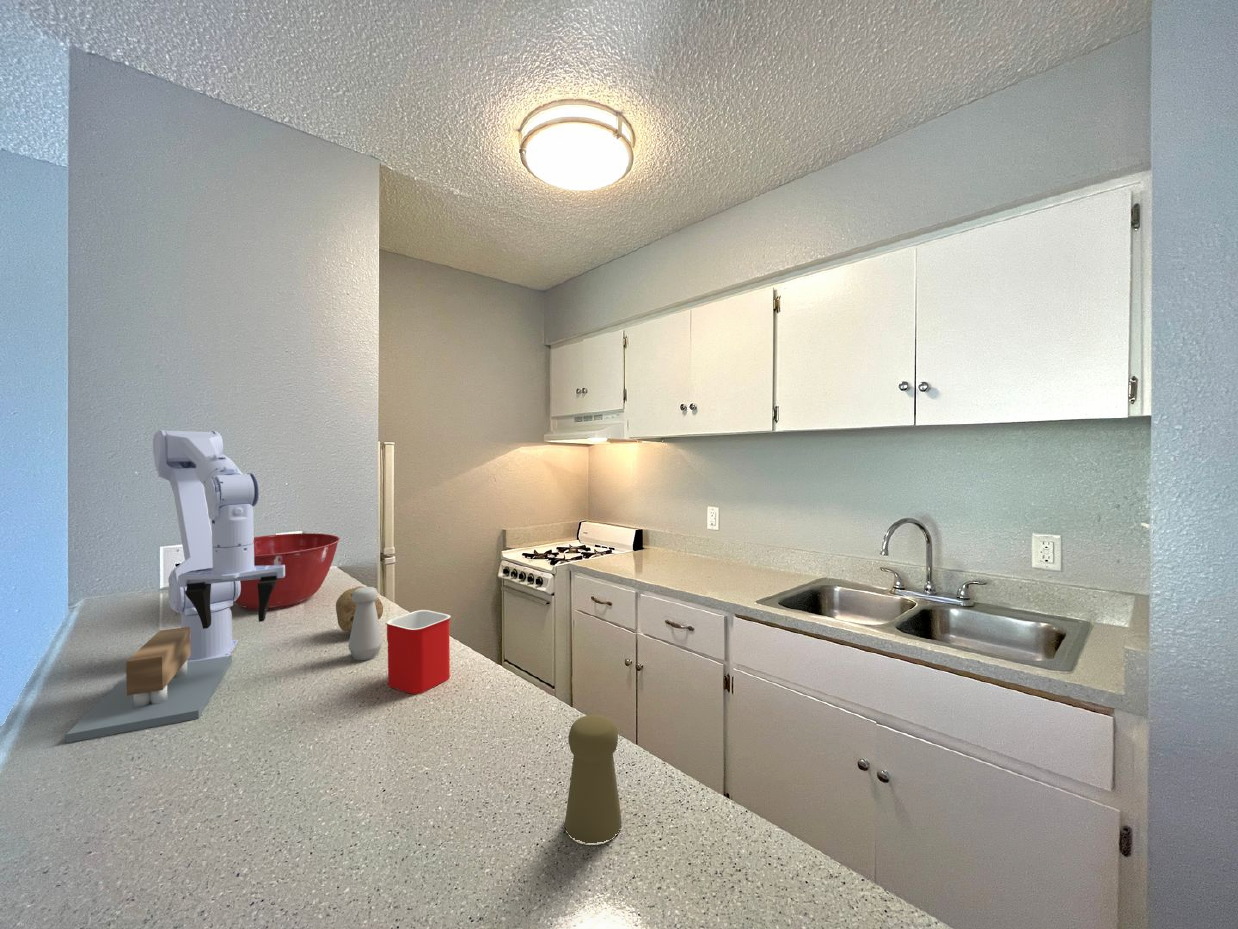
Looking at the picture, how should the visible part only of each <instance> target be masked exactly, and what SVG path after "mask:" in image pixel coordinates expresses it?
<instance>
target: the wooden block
mask: <svg viewBox="0 0 1238 929" xmlns="http://www.w3.org/2000/svg"><path fill="white" fill-rule="evenodd" d="M190 656H191V647H190V627H185V628H181V627H180V628H171V629H170V628H169V629H163V630H161V629H160V630H159V631H158V632H157V633H156V634H154V635H153V636H152V637H151V638H150V639H149V640H148V641H147V642H145V644H144V645H142V647H140V648H139V649H138V650H137V651H136V652H135V653H134V654H132V655H131V656H130V657H129V658H128V659H127V660H126V661H125V674H126V675H125V677H126V682H127V696H128V695H135V694H141V693H147V692H153V691H159V690H163V689H164V688H165V687H166V685H167V684H168V683H169V682H170V680H171V679H172V678H173V677H174V675H175V674H176V673H177V672H178V671H179V669H180V668H181V667H182V666H183V664H184V663H185V662H186V661H187V660H188V658H189V657H190Z"/></svg>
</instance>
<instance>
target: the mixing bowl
mask: <svg viewBox="0 0 1238 929" xmlns="http://www.w3.org/2000/svg"><path fill="white" fill-rule="evenodd" d="M340 540H341V538H340V537H339V536H338V535H337V536H336V535H333V534H328V533H327V534H326V533H312V532H311V533H307V532H305V533H304V532H303V533H301V532H300V533H283V534H281V533H280V534H270V535H269V534H267V535H261V536H260V535H259V536H254V566H272V565H285V576H284V578H278V580H277V582H276V584H275V587H274V589H273V591H272V593H271V596H270V599H269V602H268V605H267V610H266V611H270V610H271V611H272V610H278V609H284V608H288V607H294V606H296V605H299V604H302V603H305V602H306V601H307V600H308V599H309V598H311V597H312V596H314V595H315V594H316V593H317V591H319V590H320V588H321V586H322V585H323V583H324V582H325V579H326V578H327V576H328V573H329V571H330V568H331V567H332V563H333V561H334V557H335V556H336V555H335V554H336V551H337V547H338V542H340ZM246 577H247V576H246ZM260 580H261V579H255V580H244V581H240V584H241V591H240V595H239V597H238V598H237V600H236V601H234V602H233V603H235V604H237V605H238V606H239V607H243V608H245V609H247V610H252V611H259V595H258V586H257V584H258V582H259V581H260Z"/></svg>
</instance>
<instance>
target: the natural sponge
mask: <svg viewBox="0 0 1238 929" xmlns="http://www.w3.org/2000/svg"><path fill="white" fill-rule="evenodd" d="M362 587H363V586H356V587H352V588H349V589H347V590H345V591H344V592H343V593H342V594H340V596H339V597H338V598H337V600H336V603H335V611H336V617H337V624H338V627H339V628H340V629H341V630H342V631H343V632H347V633H349V634H350V635H351V630H352V625H353V620H354V615H355V610H356V605H357V603H354V602H353V600H352V595H353V592H354V591H355V590H356V589H359V588H362ZM375 606H376V611H377V616H378V621H379V620H380V619H381V618H382V617H383V614H384V604H383V602H382V601H381V599H380V597H379V596H378V597H377V599H376V600H375Z"/></svg>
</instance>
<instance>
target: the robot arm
mask: <svg viewBox="0 0 1238 929" xmlns="http://www.w3.org/2000/svg"><path fill="white" fill-rule="evenodd" d="M152 440H153V441H152V450H153V451H152V453H153V459H154V465H155V470H156V471H157V475H158V477H160V478H162V479H164V480H167V481H169V484H170V487H171V490H172V492H173V497H174V503H175V510H176V514H177V521H178V527H179V532H180V538H181V543H182V551H183V556H184V557H183V558H184V561H182V562H181V563H180V564H179V565H177V566H176V567H174V568H173V569H172V570H171V572H170V574H169V576H168V578H167V580H168V582H167V583H168V602H169V606H170V608H171V610H172V611H174V612H175V613H177V614H178V613H180V628H185V627H190V647H191V656H190V657H189V658H188V660H187V662H193V661H199V660H206V659H213V658H220V657H227V656H231V654H232V653H233V650H234V649H235V648H236V646H237V644H238V642H239V639H233V615H232V610H231V607H233V606H234V603H235V602H234V601H236V600H237V598H238V597H239V595H240V591H241V584H240V581H244V580H255V579H261V580H260V581H259V582H258V584H257V586H258V595H259V610H258V617H257V618H258V623H259V622H262V623H263V622H264V621H265V619H266V616H267V615H266V614H267V611H268V610H267V605H268V602H269V599H270V596H271V593H272V591H273V589H274V587H275V584H276V582H277V580H278V578H284V576H285V565H272V566H254V537H255V535H254V531H255V528H254V507H255V506H257V504H258V503H259V498H260V486H259V485H260V484H259V480H258V478H257V477H256V474H255V473H254V472H245V473H242V471H241V470H240V469H239V467H238V466H237V464H235V463H234V461H233V460H232V459H231V458H230V457H229V456H226V455H225V454H224V453H223V452H224V442H223V441H224V440H223V437H222V435H221V434H220V433H219V432H218V431H216V430H212V431H200V430H199V431H198V430H197V431H196V430H195V431H193V430H191V431H190V430H164V429H159V430H157V431H156V432H155V433H154V435H153V439H152ZM246 576H247V577H246Z"/></svg>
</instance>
